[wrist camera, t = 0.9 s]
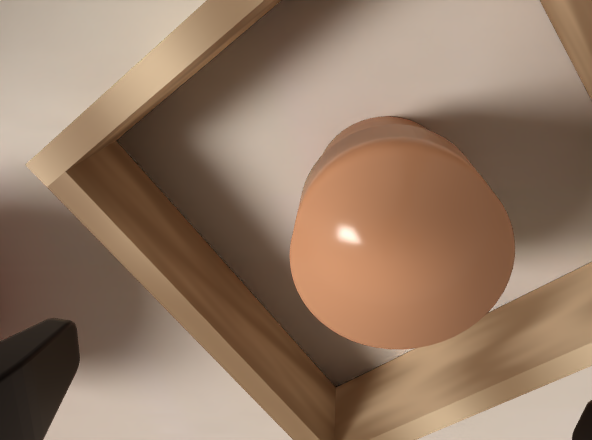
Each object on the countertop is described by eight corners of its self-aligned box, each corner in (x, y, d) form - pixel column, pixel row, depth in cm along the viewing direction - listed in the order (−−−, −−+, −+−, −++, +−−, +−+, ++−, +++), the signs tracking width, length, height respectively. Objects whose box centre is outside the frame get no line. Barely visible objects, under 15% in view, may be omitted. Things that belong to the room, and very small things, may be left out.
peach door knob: (408, 71, 18) (440, 106, 12) (491, 201, 20) (554, 287, 14) (275, 166, 20) (246, 236, 14) (361, 275, 22) (367, 378, 16)
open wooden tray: (474, -210, 14) (518, -283, 11) (693, 235, 19) (774, 288, 16) (83, 135, 20) (25, 164, 16) (331, 407, 25) (328, 476, 21)
